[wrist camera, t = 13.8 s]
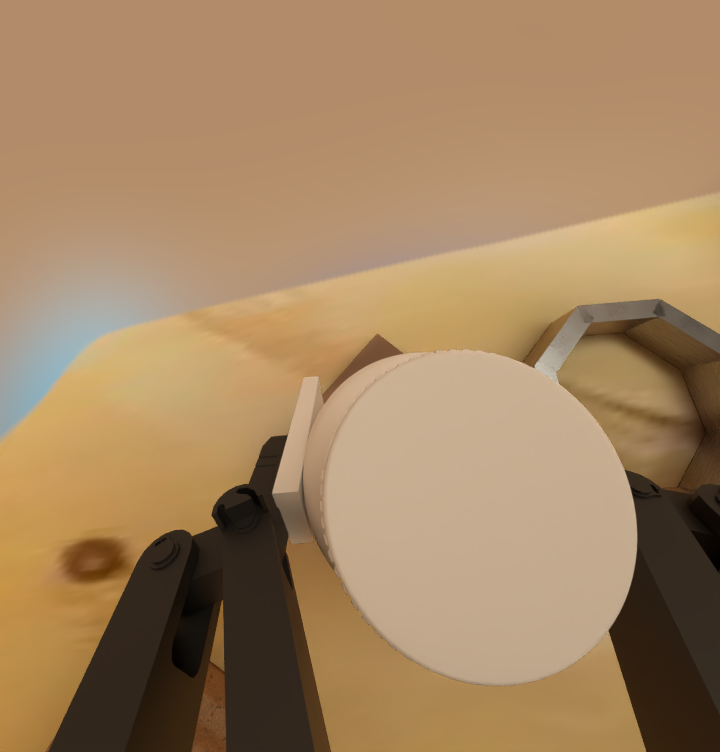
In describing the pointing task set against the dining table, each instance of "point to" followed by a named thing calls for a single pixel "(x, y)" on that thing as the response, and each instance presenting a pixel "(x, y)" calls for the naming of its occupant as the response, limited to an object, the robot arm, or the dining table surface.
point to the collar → (663, 337)
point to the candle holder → (210, 714)
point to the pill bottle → (472, 514)
